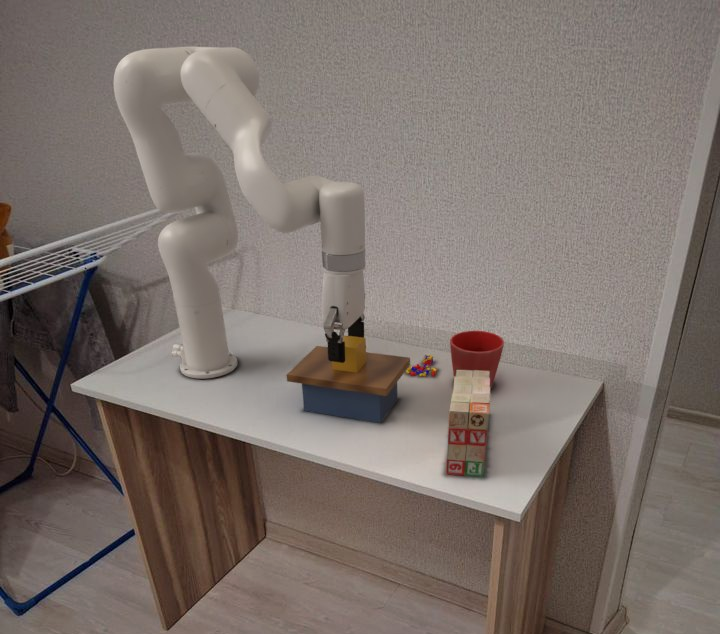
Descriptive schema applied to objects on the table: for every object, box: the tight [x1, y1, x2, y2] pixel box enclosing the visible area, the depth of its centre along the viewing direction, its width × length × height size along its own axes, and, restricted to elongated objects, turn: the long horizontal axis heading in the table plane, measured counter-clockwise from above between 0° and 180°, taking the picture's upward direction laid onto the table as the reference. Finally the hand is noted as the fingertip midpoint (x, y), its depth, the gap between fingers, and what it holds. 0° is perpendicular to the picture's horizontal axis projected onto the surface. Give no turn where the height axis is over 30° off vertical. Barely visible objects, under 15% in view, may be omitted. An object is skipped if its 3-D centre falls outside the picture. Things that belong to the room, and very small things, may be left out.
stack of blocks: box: [445, 370, 491, 478], centre depth 117 cm, size 21×6×12 cm, turn 170°
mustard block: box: [332, 334, 367, 373], centre depth 128 cm, size 5×5×5 cm
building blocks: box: [405, 353, 438, 378], centre depth 146 cm, size 6×8×2 cm
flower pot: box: [449, 330, 505, 389], centre depth 137 cm, size 11×11×10 cm
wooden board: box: [286, 345, 411, 396], centre depth 129 cm, size 20×14×2 cm
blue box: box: [301, 382, 398, 424], centre depth 132 cm, size 16×10×7 cm, turn 69°
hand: (346, 350), depth 127 cm, fingers open, 9 cm apart
